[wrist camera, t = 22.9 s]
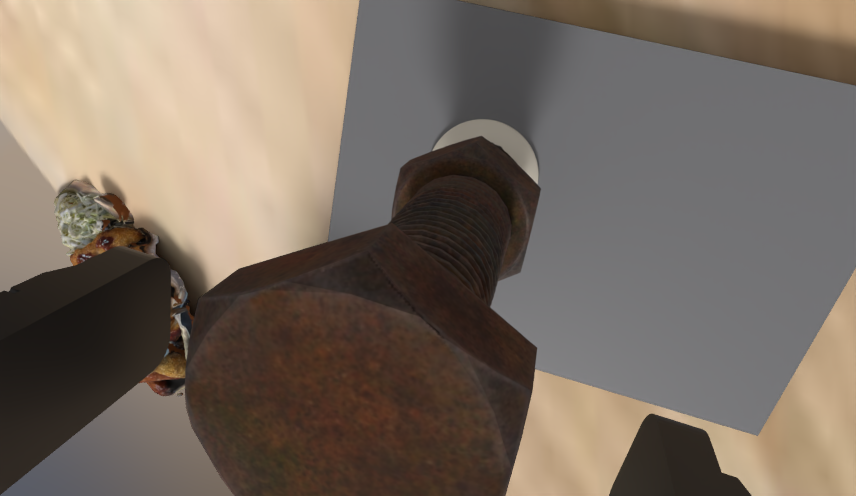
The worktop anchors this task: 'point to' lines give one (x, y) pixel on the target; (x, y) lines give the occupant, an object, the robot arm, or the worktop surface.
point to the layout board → (624, 193)
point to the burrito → (113, 226)
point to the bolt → (376, 347)
